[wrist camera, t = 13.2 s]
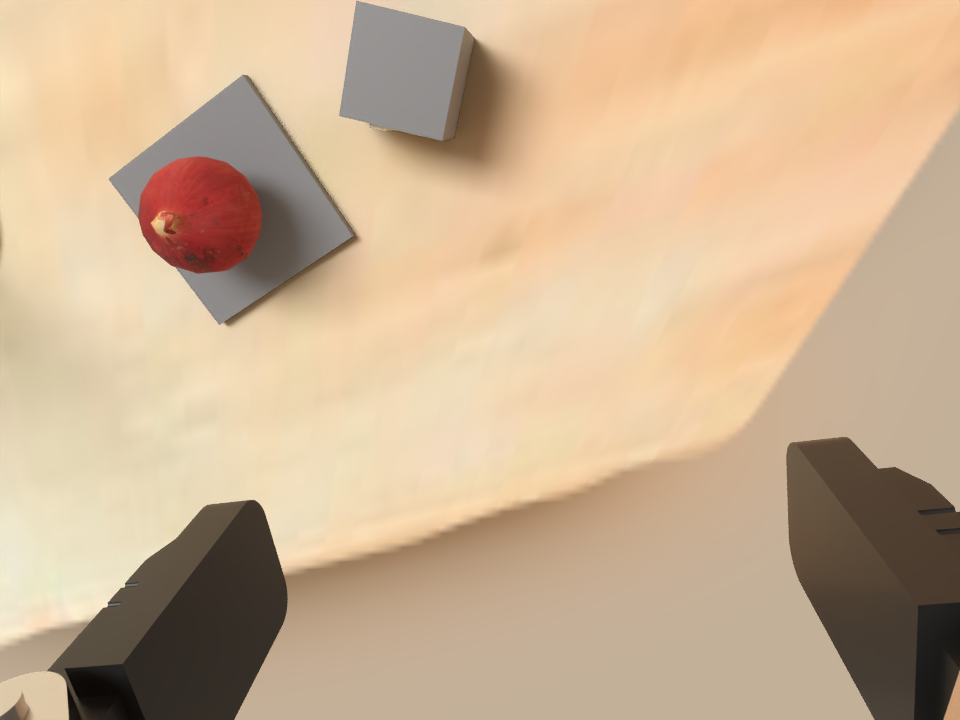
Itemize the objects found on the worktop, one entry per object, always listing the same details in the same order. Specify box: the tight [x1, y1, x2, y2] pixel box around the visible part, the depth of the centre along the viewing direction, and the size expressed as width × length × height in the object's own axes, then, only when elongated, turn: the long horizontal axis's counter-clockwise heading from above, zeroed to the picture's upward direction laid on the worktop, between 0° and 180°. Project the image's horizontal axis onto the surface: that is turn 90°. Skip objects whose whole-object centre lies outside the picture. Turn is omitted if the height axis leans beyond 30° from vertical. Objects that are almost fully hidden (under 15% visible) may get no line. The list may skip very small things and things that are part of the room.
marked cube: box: [339, 1, 475, 141], centre depth 35 cm, size 5×5×5 cm
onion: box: [138, 156, 262, 274], centre depth 36 cm, size 6×6×8 cm
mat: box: [109, 75, 355, 325], centre depth 40 cm, size 10×10×1 cm
